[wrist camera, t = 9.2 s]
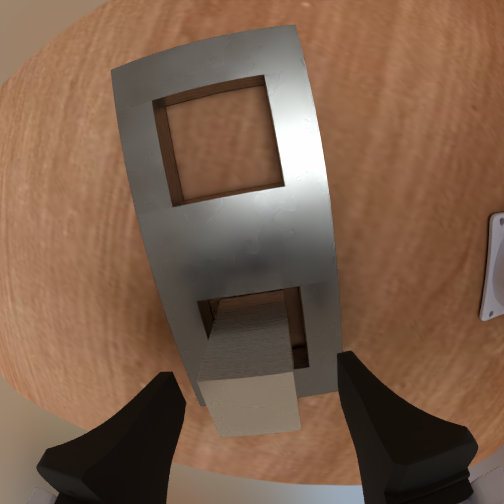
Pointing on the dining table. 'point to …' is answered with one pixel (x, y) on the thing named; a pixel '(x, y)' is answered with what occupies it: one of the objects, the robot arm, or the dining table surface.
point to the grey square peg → (250, 368)
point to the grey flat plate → (234, 198)
